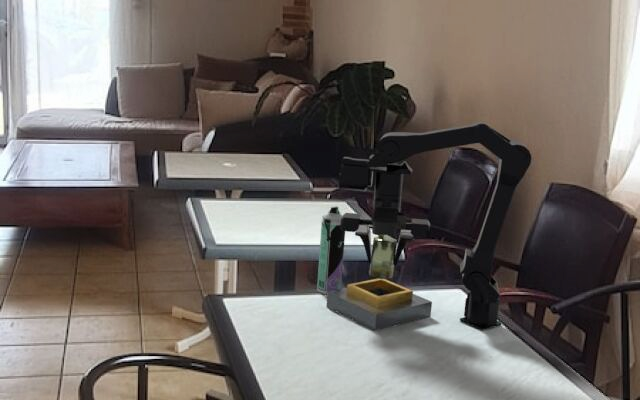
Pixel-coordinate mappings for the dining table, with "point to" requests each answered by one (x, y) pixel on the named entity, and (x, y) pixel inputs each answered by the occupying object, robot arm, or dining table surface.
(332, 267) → the spray can
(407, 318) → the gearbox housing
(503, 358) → the dining table surface
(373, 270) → the spout can
